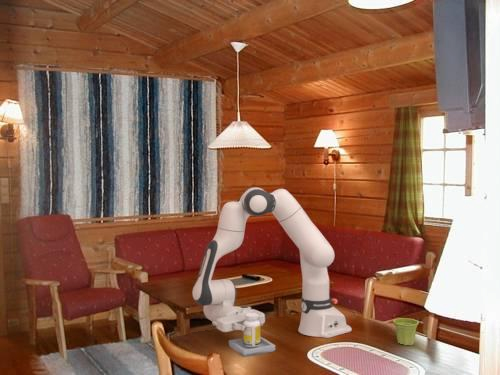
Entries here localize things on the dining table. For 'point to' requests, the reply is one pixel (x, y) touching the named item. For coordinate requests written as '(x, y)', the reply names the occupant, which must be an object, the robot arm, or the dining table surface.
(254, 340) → the pill bottle
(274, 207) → the robot arm
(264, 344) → the dish
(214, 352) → the dining table surface
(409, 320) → the plant pot
